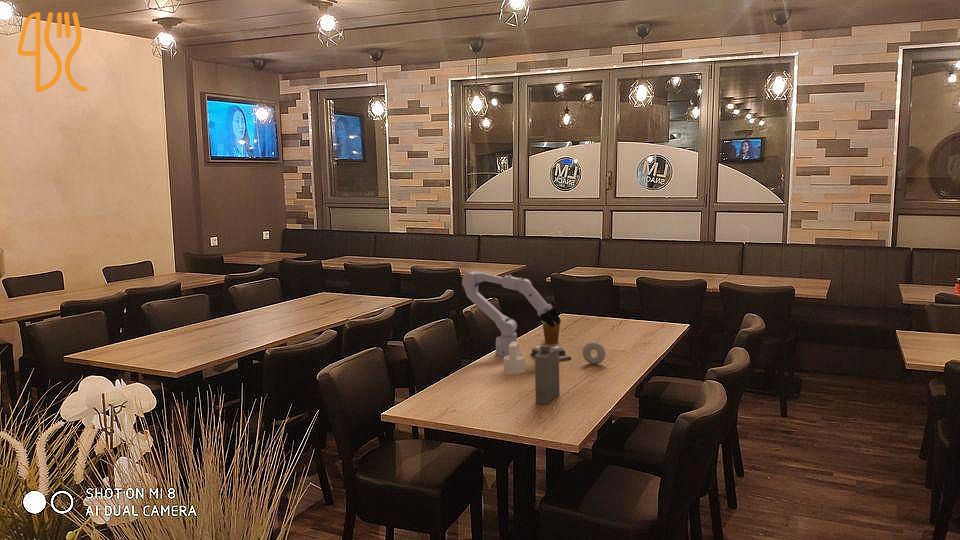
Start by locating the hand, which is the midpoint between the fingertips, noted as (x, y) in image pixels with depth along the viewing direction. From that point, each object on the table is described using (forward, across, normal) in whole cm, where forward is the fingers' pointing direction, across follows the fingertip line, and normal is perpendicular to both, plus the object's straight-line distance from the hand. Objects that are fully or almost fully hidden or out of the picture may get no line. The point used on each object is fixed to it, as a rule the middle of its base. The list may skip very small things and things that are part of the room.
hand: (556, 324), depth 330 cm
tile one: (+5, +7, +12) cm, 14 cm away
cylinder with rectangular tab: (+3, -11, +33) cm, 35 cm away
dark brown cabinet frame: (+10, +4, +11) cm, 15 cm away
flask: (+15, -48, +42) cm, 66 cm away
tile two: (+10, +3, +7) cm, 12 cm away
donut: (+23, -13, +4) cm, 27 cm away
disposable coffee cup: (+7, +30, -4) cm, 31 cm away
